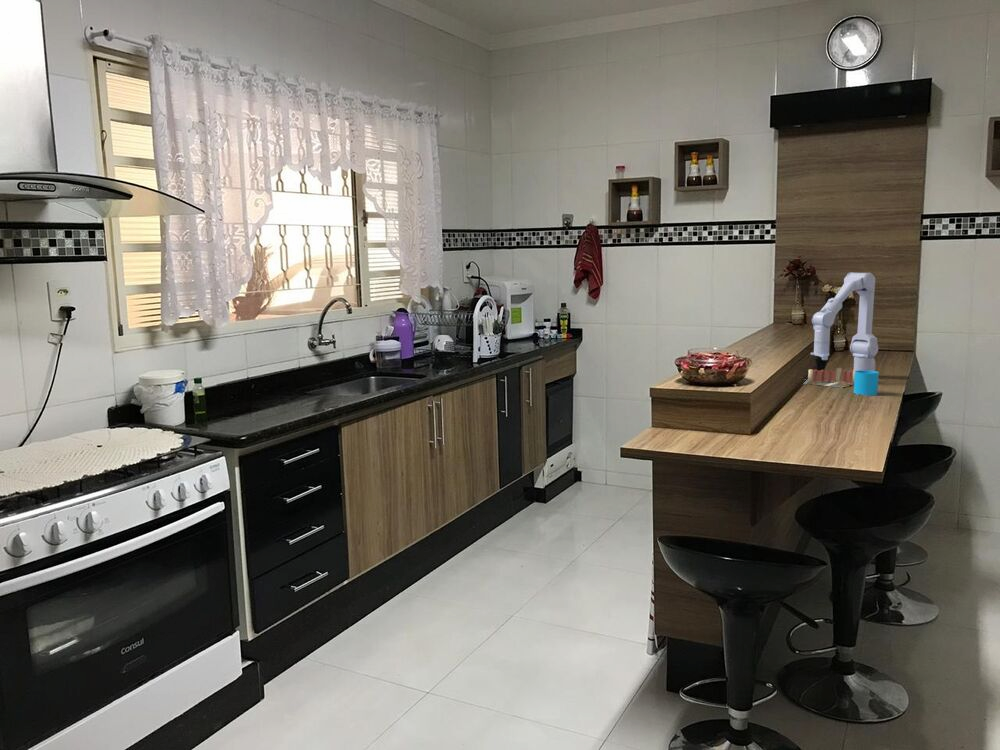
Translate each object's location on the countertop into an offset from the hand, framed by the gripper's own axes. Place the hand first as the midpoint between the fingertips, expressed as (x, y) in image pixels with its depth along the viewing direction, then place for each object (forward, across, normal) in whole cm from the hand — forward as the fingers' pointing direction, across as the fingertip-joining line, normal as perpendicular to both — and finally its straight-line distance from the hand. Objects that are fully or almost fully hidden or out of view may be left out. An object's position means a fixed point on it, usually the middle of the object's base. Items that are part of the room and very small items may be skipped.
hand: (820, 375), depth 328 cm
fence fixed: (+3, +2, +9) cm, 10 cm away
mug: (+3, +23, +12) cm, 26 cm away
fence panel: (+2, +1, 0) cm, 3 cm away
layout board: (+3, -1, +4) cm, 5 cm away
